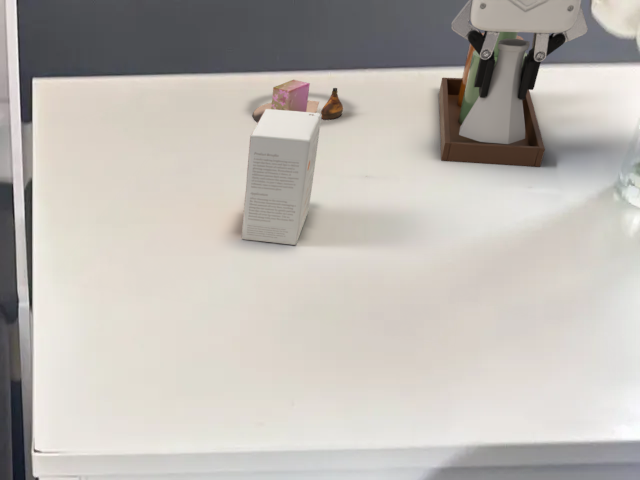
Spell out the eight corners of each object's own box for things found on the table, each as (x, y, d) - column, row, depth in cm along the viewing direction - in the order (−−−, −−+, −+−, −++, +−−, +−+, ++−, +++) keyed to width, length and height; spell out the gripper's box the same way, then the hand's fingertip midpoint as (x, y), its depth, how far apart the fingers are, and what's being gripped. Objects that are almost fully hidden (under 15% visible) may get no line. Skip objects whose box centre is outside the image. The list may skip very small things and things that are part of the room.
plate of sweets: (311, 138, 116) (316, 100, 113) (233, 117, 123) (236, 82, 120) (366, 113, 122) (372, 77, 119) (289, 95, 129) (293, 61, 127)
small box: (255, 208, 100) (264, 107, 94) (309, 214, 98) (323, 111, 92) (239, 240, 94) (248, 134, 88) (296, 246, 92) (310, 139, 86)
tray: (521, 101, 123) (526, 80, 122) (538, 172, 104) (545, 148, 103) (438, 97, 126) (442, 77, 124) (440, 165, 107) (444, 142, 106)
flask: (447, 138, 108) (467, 45, 102) (471, 120, 112) (492, 30, 106) (512, 150, 104) (537, 54, 98) (535, 131, 108) (560, 39, 102)
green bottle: (509, 115, 117) (533, 20, 111) (512, 132, 113) (537, 33, 106) (457, 113, 119) (477, 19, 112) (458, 129, 114) (480, 32, 108)
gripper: (459, -89, 93) (422, 101, 105) (647, -89, 89) (587, 110, 100) (458, -100, 99) (422, 81, 110) (634, -101, 95) (579, 88, 106)
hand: (501, 93), depth 105 cm, fingers closed on flask, 3 cm apart
